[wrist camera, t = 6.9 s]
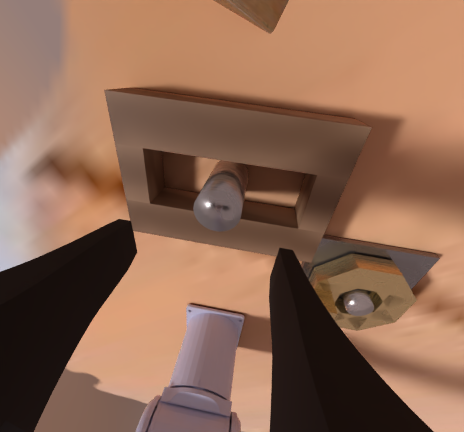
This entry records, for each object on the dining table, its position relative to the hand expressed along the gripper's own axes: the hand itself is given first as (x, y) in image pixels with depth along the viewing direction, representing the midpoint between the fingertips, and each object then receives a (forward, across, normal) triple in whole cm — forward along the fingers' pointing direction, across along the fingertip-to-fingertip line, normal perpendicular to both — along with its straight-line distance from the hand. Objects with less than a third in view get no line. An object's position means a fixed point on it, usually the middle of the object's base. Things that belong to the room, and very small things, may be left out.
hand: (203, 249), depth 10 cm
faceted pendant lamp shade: (+9, -13, +10) cm, 19 cm away
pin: (+9, 0, 0) cm, 9 cm away
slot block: (+9, 0, 0) cm, 9 cm away
